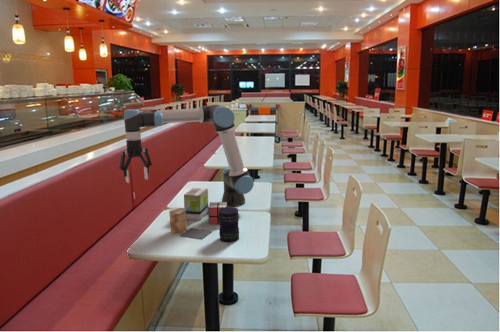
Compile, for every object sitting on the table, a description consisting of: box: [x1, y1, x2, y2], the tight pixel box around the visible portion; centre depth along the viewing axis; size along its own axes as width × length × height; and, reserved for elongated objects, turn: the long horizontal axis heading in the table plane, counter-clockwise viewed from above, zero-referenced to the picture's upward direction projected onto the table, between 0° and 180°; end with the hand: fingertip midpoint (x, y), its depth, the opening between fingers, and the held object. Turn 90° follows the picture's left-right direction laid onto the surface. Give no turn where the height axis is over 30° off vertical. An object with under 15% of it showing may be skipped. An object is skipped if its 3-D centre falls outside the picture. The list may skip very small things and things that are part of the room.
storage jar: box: [218, 206, 240, 244], centre depth 196 cm, size 10×10×15 cm
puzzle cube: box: [208, 201, 229, 226], centre depth 220 cm, size 10×10×10 cm
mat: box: [179, 227, 213, 240], centre depth 204 cm, size 13×11×1 cm
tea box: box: [183, 187, 209, 221], centre depth 230 cm, size 15×10×15 cm
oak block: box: [168, 207, 188, 235], centre depth 207 cm, size 6×6×12 cm
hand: (137, 180), depth 212 cm, fingers open, 10 cm apart
